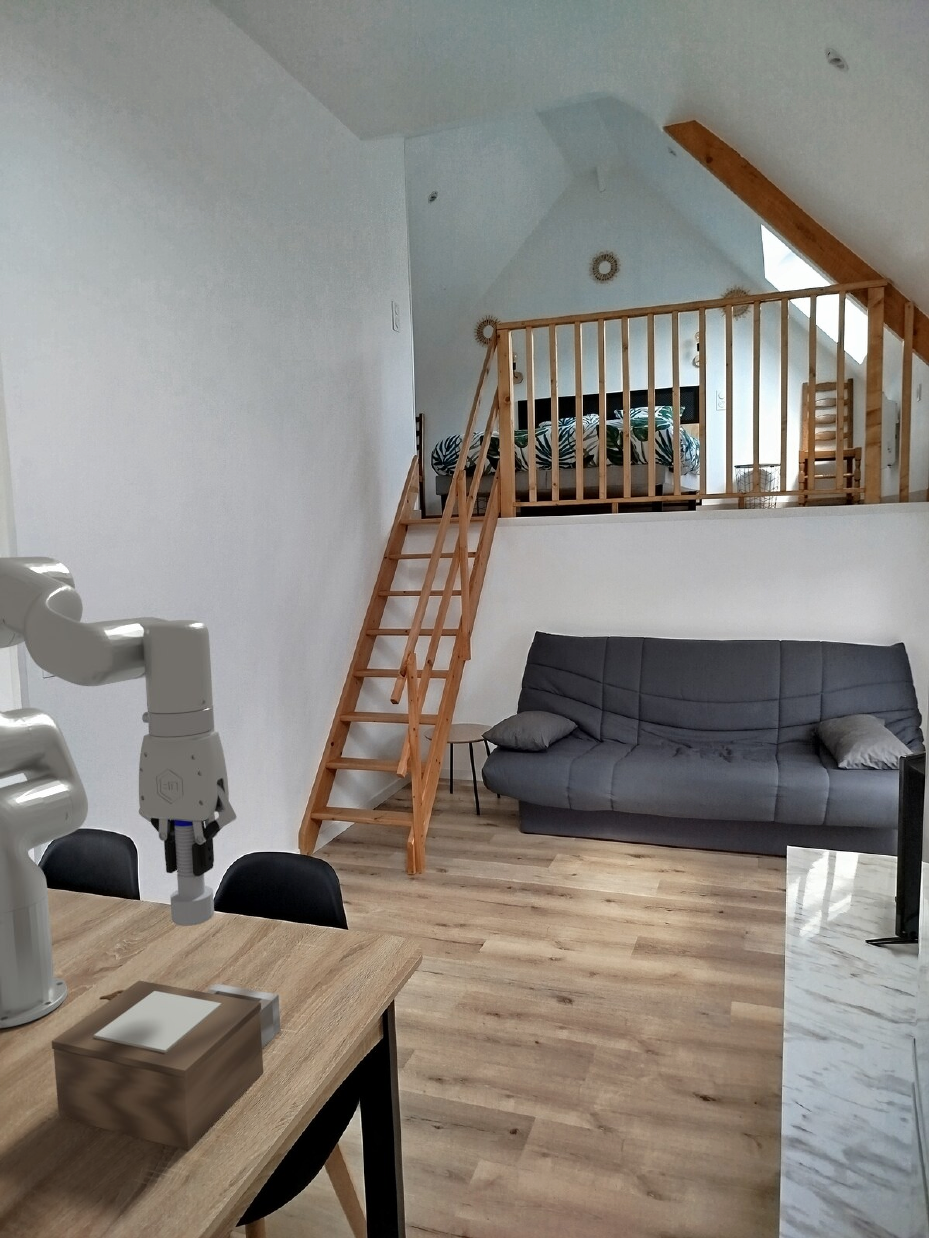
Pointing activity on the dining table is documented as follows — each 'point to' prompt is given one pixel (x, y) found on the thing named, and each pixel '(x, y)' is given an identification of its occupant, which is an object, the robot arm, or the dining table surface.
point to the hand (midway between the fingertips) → (190, 869)
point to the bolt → (189, 882)
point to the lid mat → (158, 1021)
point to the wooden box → (165, 1066)
